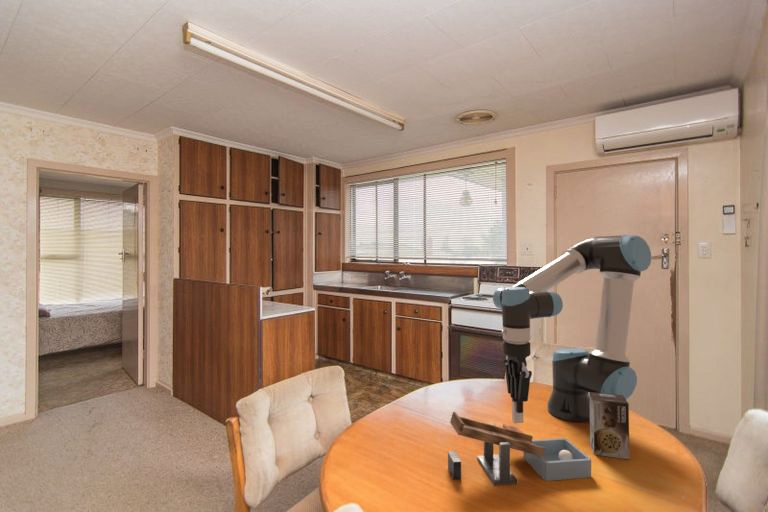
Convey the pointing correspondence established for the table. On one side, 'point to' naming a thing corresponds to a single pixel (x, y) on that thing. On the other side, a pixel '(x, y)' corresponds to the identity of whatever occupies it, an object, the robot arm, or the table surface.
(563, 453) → the ball
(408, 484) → the table surface
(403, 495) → the table surface
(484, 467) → the fulcrum
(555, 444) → the dish
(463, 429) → the lever
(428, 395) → the table surface
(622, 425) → the coffee box
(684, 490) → the table surface
